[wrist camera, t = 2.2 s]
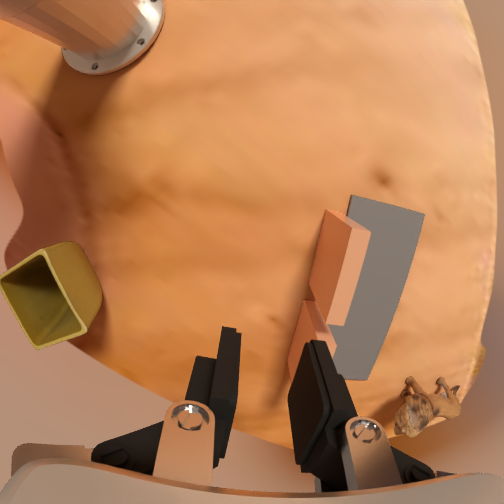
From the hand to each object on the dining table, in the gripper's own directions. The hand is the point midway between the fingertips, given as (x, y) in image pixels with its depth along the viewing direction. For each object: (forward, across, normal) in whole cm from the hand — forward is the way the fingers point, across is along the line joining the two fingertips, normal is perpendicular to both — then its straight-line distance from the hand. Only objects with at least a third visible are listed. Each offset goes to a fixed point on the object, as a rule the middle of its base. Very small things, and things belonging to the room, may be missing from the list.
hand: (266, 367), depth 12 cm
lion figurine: (+21, -28, +18) cm, 39 cm away
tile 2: (+21, -7, 0) cm, 22 cm away
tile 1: (+21, -7, +10) cm, 25 cm away
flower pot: (+21, +20, +8) cm, 30 cm away
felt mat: (+21, -13, +5) cm, 25 cm away
